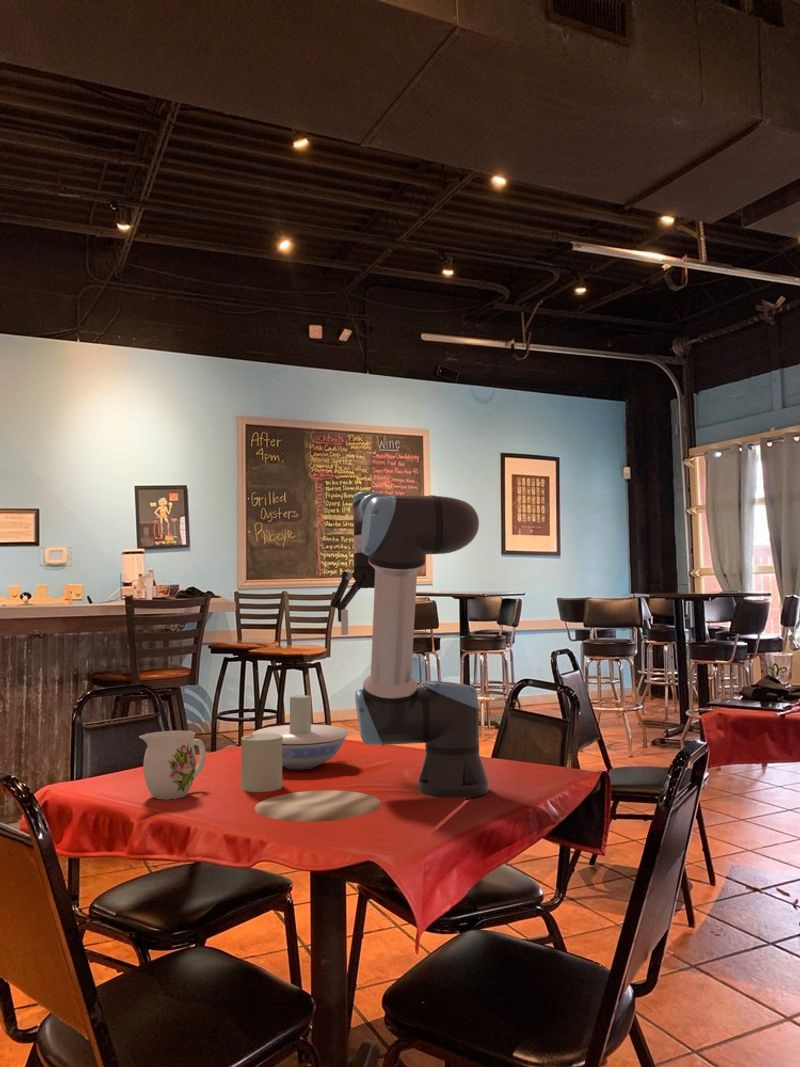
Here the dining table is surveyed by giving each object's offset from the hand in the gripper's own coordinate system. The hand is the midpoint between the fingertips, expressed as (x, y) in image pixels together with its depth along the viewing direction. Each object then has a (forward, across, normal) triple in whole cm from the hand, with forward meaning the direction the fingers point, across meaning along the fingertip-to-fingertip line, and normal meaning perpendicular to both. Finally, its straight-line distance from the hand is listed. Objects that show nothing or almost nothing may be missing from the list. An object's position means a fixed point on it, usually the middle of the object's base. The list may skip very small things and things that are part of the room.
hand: (369, 634), depth 206 cm
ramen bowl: (+33, -16, -7) cm, 37 cm away
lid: (+25, -16, -7) cm, 30 cm away
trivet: (+33, +6, -43) cm, 54 cm away
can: (+33, -13, -32) cm, 48 cm away
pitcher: (+33, -29, -42) cm, 61 cm away
